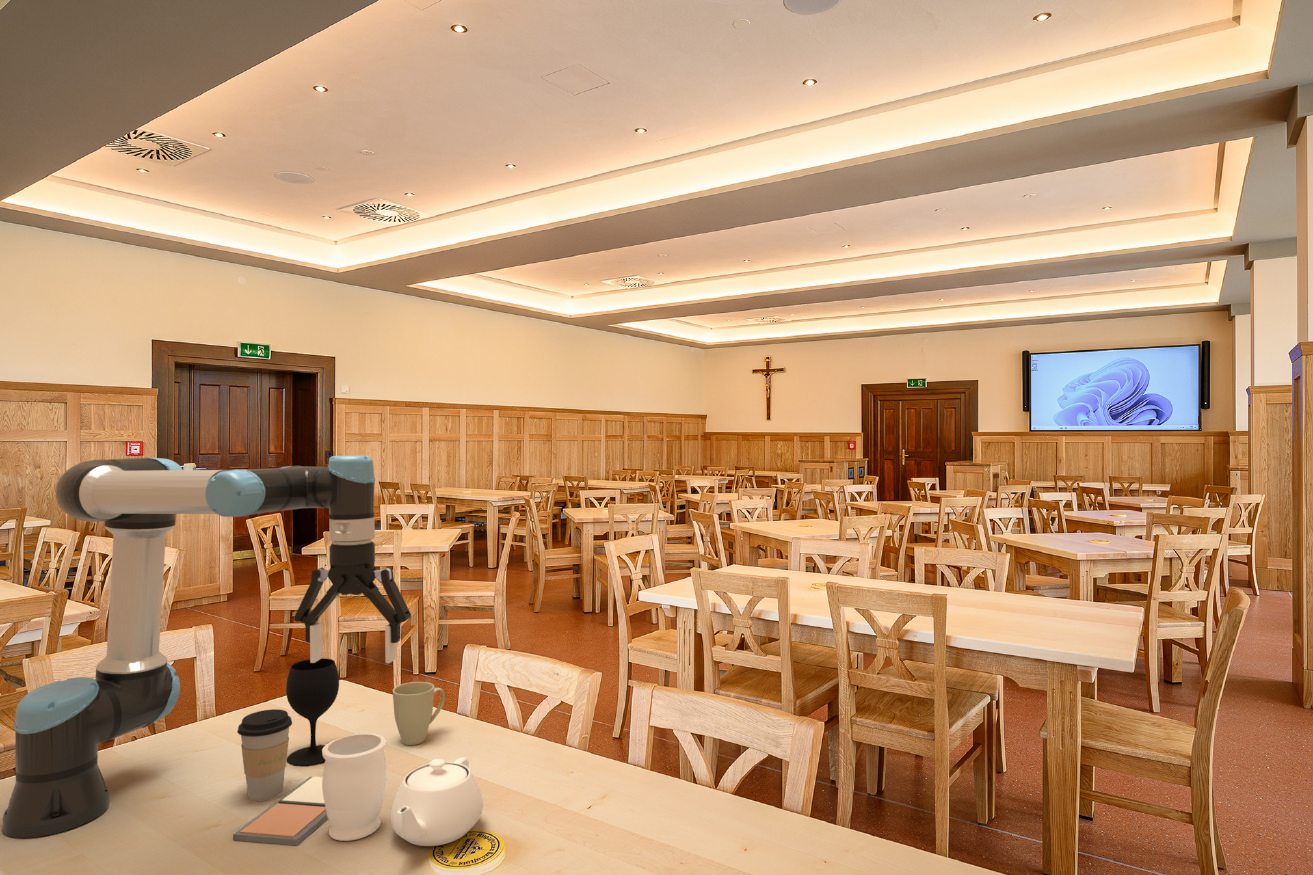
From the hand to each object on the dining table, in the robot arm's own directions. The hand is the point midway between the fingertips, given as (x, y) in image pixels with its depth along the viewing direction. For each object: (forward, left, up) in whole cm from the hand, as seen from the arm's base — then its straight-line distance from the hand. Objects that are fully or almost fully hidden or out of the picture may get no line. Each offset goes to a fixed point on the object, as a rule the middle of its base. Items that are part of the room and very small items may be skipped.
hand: (353, 660), depth 133 cm
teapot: (+16, -1, -29) cm, 33 cm away
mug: (-6, +37, -29) cm, 48 cm away
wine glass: (-24, +25, -29) cm, 46 cm away
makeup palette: (-12, +3, -29) cm, 31 cm away
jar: (+1, -2, -29) cm, 29 cm away
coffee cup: (-23, +8, -29) cm, 38 cm away
